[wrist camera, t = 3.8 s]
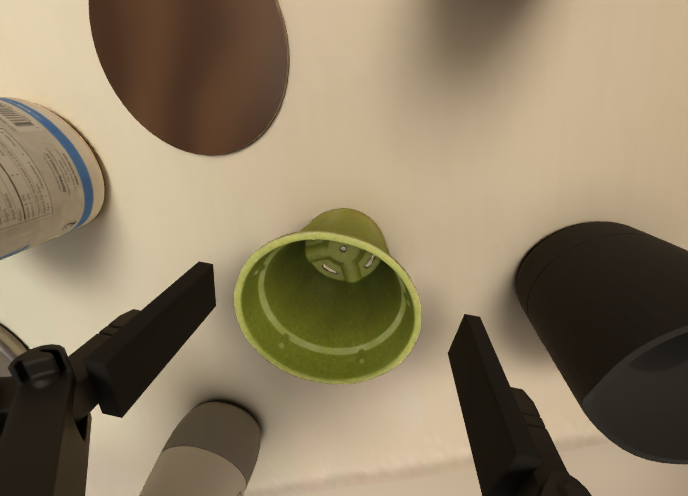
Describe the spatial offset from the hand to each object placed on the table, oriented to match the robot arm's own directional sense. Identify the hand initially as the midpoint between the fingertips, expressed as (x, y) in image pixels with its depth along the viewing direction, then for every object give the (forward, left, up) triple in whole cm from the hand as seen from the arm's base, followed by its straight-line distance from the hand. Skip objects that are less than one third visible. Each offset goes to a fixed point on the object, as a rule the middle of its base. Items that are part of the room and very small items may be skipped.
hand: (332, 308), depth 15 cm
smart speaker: (-10, -25, -8) cm, 28 cm away
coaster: (-11, +11, -8) cm, 18 cm away
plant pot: (0, 0, -8) cm, 8 cm away
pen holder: (+17, +1, -8) cm, 19 cm away
